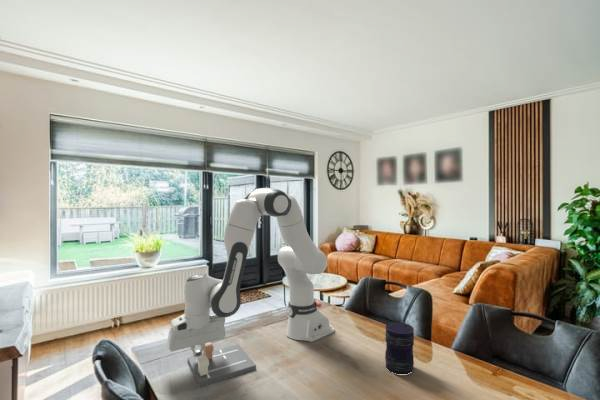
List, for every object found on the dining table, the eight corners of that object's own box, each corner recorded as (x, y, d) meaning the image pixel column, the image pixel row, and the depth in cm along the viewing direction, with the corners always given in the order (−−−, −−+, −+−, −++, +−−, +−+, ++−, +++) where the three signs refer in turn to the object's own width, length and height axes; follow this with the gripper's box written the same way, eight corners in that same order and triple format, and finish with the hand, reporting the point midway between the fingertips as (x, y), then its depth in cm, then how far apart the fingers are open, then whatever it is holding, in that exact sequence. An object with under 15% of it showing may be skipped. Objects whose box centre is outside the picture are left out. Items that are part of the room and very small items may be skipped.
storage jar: (399, 378, 107) (399, 335, 107) (379, 364, 116) (379, 324, 116) (419, 371, 112) (420, 330, 111) (399, 358, 121) (399, 319, 120)
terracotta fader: (210, 353, 120) (210, 341, 120) (213, 358, 116) (213, 346, 116) (202, 355, 118) (202, 343, 118) (205, 361, 115) (205, 348, 115)
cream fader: (205, 367, 110) (205, 355, 110) (209, 374, 106) (209, 360, 106) (197, 370, 109) (196, 357, 109) (200, 376, 105) (200, 363, 105)
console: (238, 347, 128) (238, 343, 128) (255, 369, 113) (255, 364, 113) (187, 361, 118) (187, 357, 118) (199, 387, 103) (199, 382, 103)
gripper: (222, 310, 123) (222, 345, 124) (166, 321, 113) (167, 359, 113) (227, 315, 118) (227, 352, 118) (169, 328, 107) (169, 367, 108)
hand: (197, 355), depth 115 cm, fingers closed
